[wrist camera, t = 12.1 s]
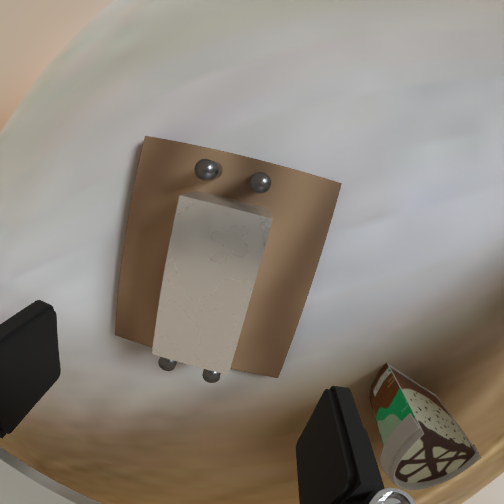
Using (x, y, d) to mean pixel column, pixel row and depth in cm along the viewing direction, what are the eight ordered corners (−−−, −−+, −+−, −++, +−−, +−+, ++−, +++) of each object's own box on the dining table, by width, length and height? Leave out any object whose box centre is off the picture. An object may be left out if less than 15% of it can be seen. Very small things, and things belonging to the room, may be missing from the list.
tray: (337, 183, 22) (341, 183, 20) (277, 369, 25) (278, 378, 24) (150, 137, 21) (145, 135, 20) (120, 328, 25) (115, 334, 24)
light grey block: (269, 208, 21) (272, 218, 16) (234, 336, 23) (228, 374, 18) (197, 190, 21) (179, 195, 16) (171, 320, 23) (151, 353, 18)
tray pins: (270, 175, 20) (273, 175, 17) (222, 358, 24) (217, 384, 20) (207, 159, 20) (197, 156, 17) (169, 344, 24) (157, 368, 20)
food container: (331, 401, 26) (353, 483, 17) (376, 355, 25) (419, 432, 15) (404, 435, 28) (433, 498, 18) (442, 399, 27) (482, 458, 17)
